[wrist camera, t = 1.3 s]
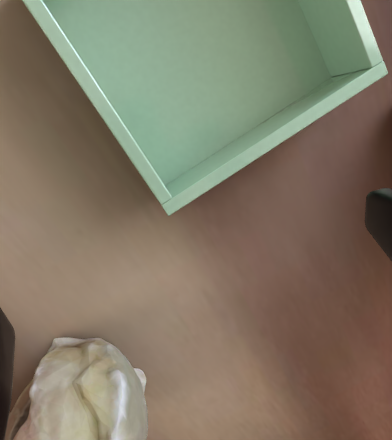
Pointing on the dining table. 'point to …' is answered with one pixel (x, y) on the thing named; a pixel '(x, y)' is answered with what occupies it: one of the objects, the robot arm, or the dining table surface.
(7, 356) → the robot arm
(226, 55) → the basin
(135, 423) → the garlic bulb
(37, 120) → the dining table surface
